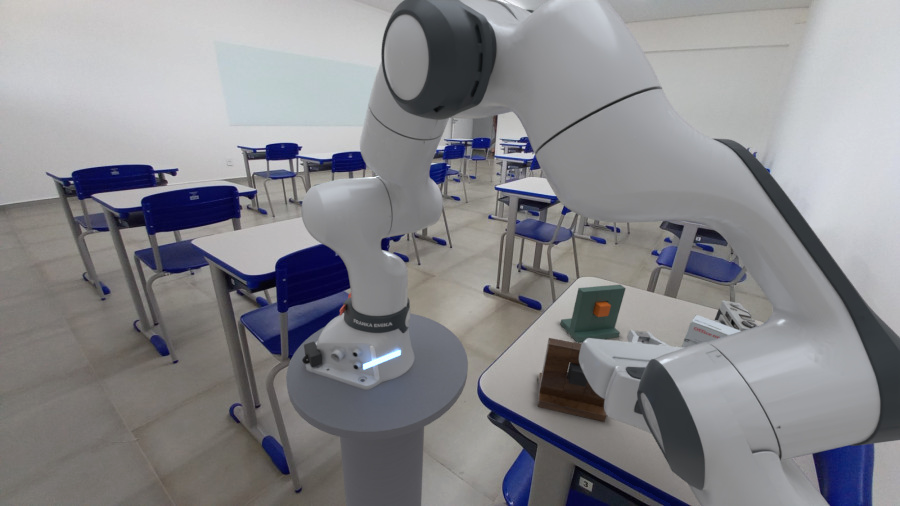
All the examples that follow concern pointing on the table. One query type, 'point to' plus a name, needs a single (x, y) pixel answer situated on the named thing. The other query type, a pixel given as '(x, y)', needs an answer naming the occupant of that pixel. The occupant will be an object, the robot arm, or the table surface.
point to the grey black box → (734, 316)
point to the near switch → (576, 375)
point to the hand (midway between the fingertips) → (637, 334)
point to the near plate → (566, 384)
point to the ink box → (705, 331)
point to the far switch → (601, 309)
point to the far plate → (586, 321)
